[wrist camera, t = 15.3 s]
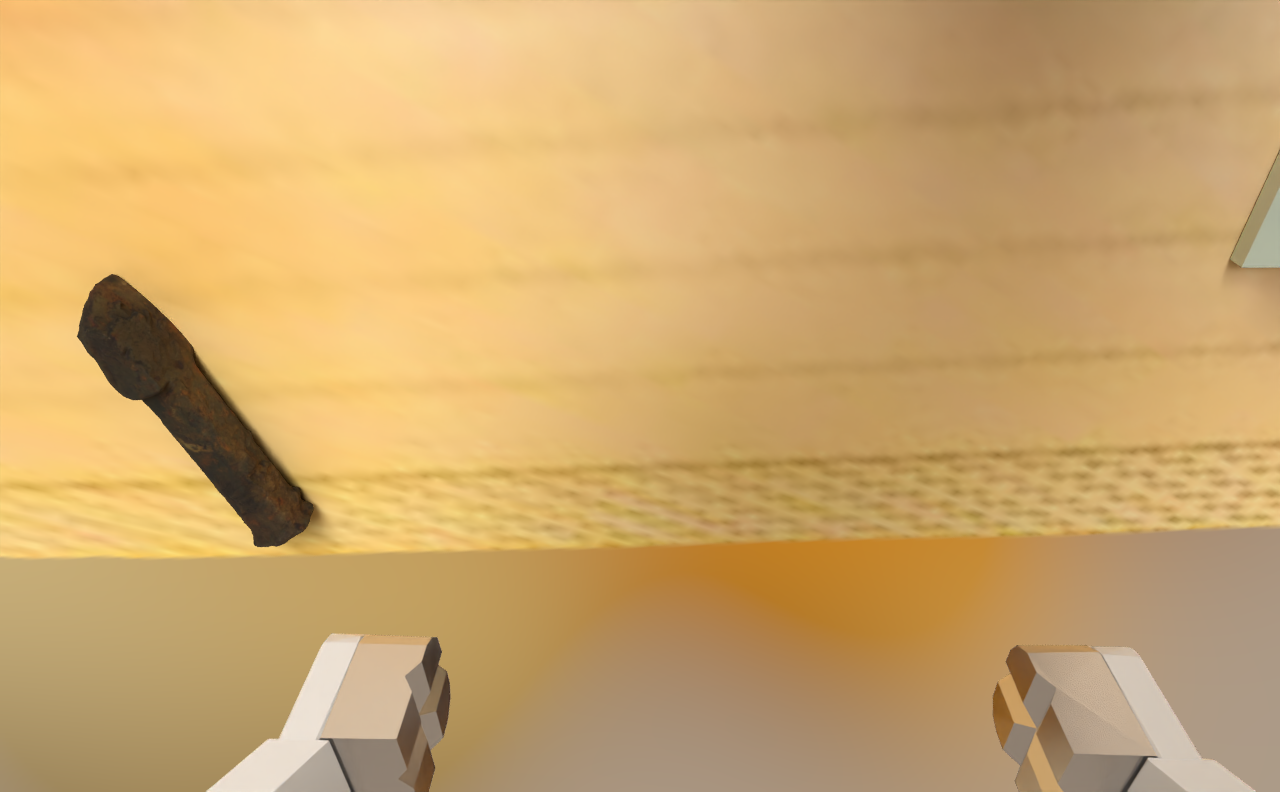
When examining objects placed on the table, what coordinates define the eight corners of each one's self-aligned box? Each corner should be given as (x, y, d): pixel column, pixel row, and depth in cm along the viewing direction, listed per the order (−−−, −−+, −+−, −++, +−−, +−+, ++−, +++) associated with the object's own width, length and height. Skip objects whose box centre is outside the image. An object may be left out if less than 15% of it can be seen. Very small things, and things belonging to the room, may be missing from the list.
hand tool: (325, 503, 53) (298, 552, 49) (274, 513, 54) (244, 563, 50) (160, 258, 43) (110, 296, 39) (100, 275, 44) (45, 313, 40)
